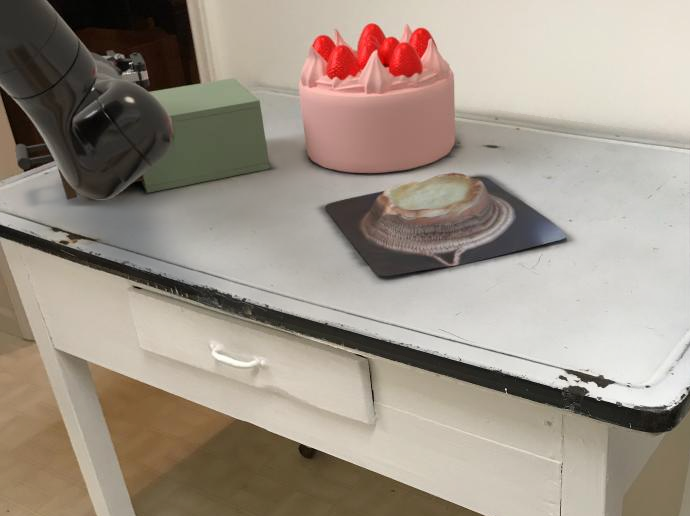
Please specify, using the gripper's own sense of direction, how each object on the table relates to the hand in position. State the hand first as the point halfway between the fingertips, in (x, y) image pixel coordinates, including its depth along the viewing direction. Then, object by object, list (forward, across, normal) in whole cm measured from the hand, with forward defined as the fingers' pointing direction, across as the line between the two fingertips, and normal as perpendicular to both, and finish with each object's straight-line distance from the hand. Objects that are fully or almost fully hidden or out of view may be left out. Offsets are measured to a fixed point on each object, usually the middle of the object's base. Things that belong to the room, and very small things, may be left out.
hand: (74, 65), depth 100 cm
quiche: (-33, -31, +14) cm, 47 cm away
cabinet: (0, -12, +14) cm, 19 cm away
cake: (-7, -35, +15) cm, 39 cm away
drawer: (0, 0, +14) cm, 14 cm away
